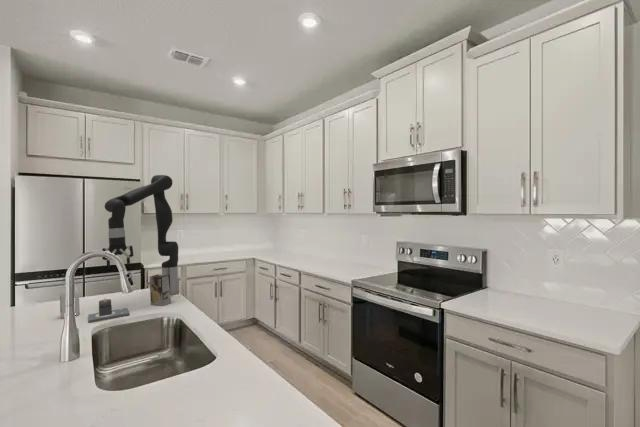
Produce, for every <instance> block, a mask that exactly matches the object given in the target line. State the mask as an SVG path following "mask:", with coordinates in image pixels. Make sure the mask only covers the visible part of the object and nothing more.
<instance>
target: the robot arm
mask: <svg viewBox="0 0 640 427" xmlns="http://www.w3.org/2000/svg"><path fill="white" fill-rule="evenodd" d="M172 179H173V178H172V177H170V176H169V175H166V174H165V175H164V174H155V175H154V176H152V177H151V179H150V180H151V181H150V184H147V185H144V186H140V187H138V188H134V189H131V190H129V191H128V192H126V193H124V194H122V195H119V196H115V197H113V198H111V199H109V200H107V201H106V202H105V203H104V208H105V211H106V212H108V213H111V217H109V218H108V220H107V221H108V222H107V223H108V224H107V225H108V233H107V234H108V235H107V236H108V247H107V248H106V247H102V251H107V252H108V251H109V253H114V254H115V255H114V256H122V255H124V257H126V265H127V266H129V264H131V259H130V258H133V257H134V249H133V245H126V231H125V224H124V223H125V221H124V219H125V215H126V210H127V209H126V207H129V206H133V205H134V204H136V203H139V202H140V201H143V200H144V199H146V198H148V197H150V196H153V202H154V209H155V210H154V211H155V220H156V227H157V228H156V229H157V230H156V231H157V251H158V254H159V255H160V256H161V257H169V259H168V260H165V261H163V262H162V263H161V275H170V296H173V295H176V294H179V293H180V279H179V271H178V270H179V267H178V264H179V244H178V242H177V241H172V240H171V241H167V233H168V232H169V229H170V227H171V226H172V223H173V219H174V218H173V212H172V208H171V205H170V204H169V202H168V200H167V198H166V194H165V191H166V190H169V189H171V187H172V186H173V180H172ZM127 249H128V250H129V253H130V254H128V253H127V252H126V250H127ZM101 257H102V256H101ZM105 257H106V256H105ZM105 257H102V258H101V259H102V260H105V261H106V266H107V267H108V268H111V259H108V258H105Z"/></svg>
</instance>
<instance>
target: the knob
mask: <svg viewBox="0 0 640 427" xmlns="http://www.w3.org/2000/svg"><path fill="white" fill-rule="evenodd" d="M112 309H113V306H112V299H110V298H108V299H107V298H103V299H101V300H99V301H98V313H99V317H100V316H105V315H111V314H112Z"/></svg>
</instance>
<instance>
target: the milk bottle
mask: <svg viewBox="0 0 640 427" xmlns="http://www.w3.org/2000/svg"><path fill="white" fill-rule="evenodd" d="M62 281H63V286H62V289H61V290H60V293H59V310H60V312H59V313H60V317H61V318H62V319H65V318H64V313H65V277H63V279H62ZM80 310H81V309H80V292H79V290H78V287H77V286H76V285H75V313H76V316H75V317H77V316H79V315H80Z"/></svg>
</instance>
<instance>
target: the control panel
mask: <svg viewBox="0 0 640 427" xmlns="http://www.w3.org/2000/svg"><path fill="white" fill-rule="evenodd" d="M129 316H130V311H129V308H128V307H124V308H118V309H113V310H112V314H111V315H105V316H100V317H99V312H94V313H90V314H88V315H87V317H88V318H87V319H88V320H87V321H88V323H87V324H90V323H91V324H92V323H95V322H100V321H101V322H103V321H108V320H113V319H118V318H122V317H129Z"/></svg>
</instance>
